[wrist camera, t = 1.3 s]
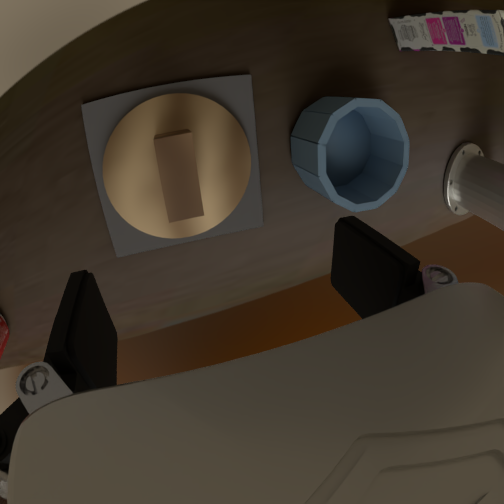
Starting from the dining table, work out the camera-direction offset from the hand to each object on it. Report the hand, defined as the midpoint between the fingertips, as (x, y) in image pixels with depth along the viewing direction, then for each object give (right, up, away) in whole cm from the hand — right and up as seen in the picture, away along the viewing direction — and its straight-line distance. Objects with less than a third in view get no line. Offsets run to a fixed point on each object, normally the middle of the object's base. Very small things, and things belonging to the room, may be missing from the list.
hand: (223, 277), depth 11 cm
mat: (-6, +9, +17) cm, 20 cm away
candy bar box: (+23, +30, +15) cm, 41 cm away
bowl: (+10, +13, +20) cm, 26 cm away
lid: (-6, +9, +16) cm, 19 cm away
